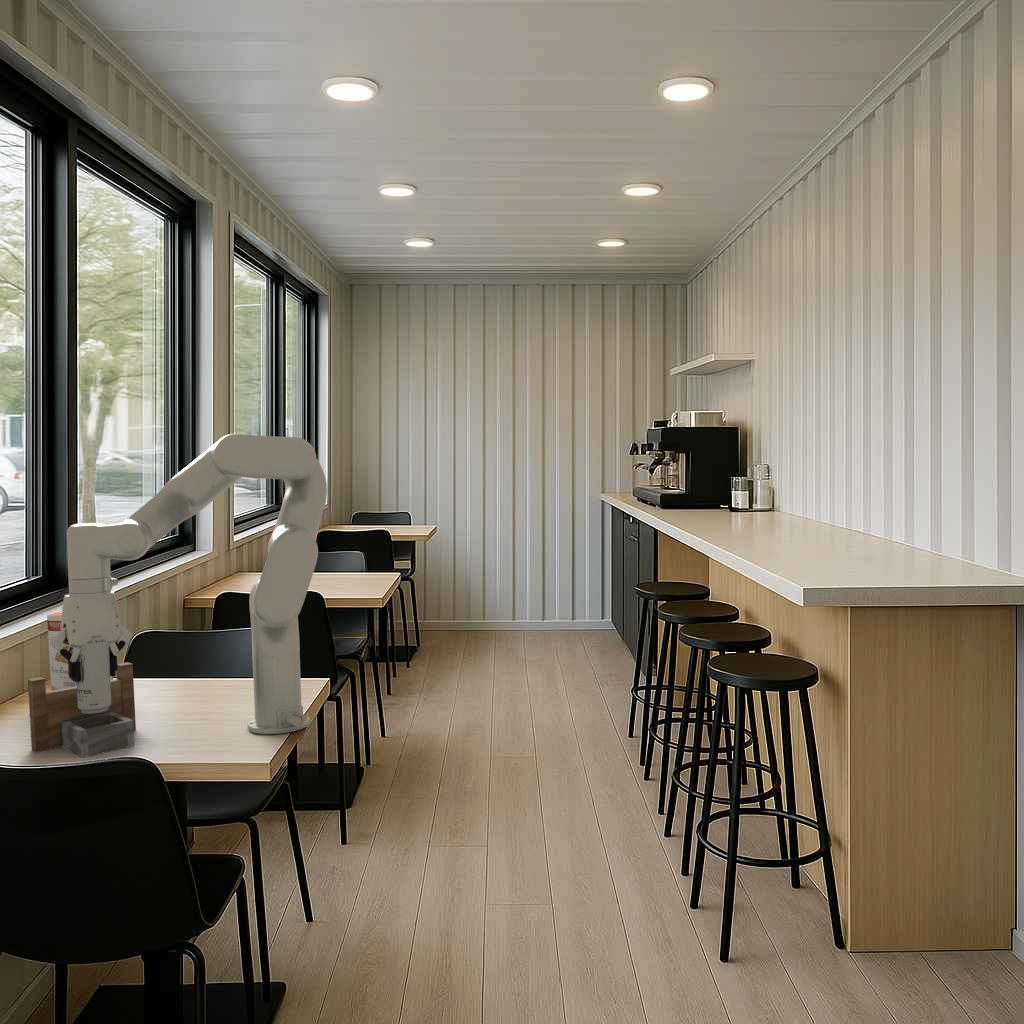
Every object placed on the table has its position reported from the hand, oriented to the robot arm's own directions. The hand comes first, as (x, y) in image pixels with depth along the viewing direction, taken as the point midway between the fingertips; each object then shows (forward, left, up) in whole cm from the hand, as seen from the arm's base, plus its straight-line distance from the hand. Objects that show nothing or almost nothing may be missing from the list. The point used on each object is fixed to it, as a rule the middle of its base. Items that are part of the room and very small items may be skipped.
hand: (93, 677), depth 186 cm
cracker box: (+40, -12, -14) cm, 44 cm away
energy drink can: (0, 0, -7) cm, 7 cm away
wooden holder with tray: (+1, 0, -14) cm, 14 cm away
